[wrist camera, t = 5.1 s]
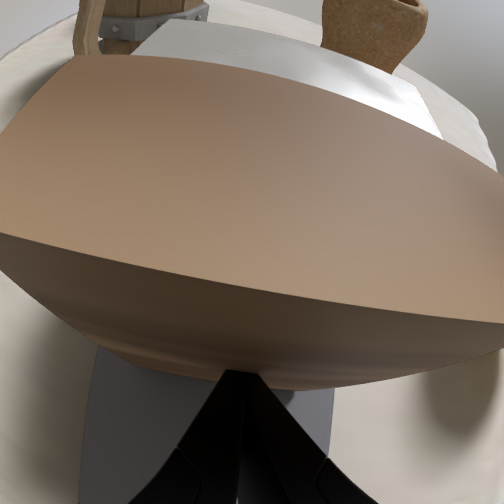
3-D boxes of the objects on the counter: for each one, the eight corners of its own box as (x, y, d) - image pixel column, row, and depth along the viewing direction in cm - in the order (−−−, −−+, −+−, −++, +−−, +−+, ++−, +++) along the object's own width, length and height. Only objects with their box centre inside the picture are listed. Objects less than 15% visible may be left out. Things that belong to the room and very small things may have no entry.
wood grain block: (301, 391, 13) (552, 327, 3) (133, 365, 12) (-51, 217, 2) (309, 182, 20) (395, 20, 9) (190, 156, 19) (214, -32, 8)
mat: (298, 571, 9) (304, 578, 8) (85, 547, 8) (80, 554, 7) (328, 203, 21) (334, 194, 20) (161, 167, 19) (160, 157, 19)
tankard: (137, 30, 30) (144, -64, 17) (221, 45, 30) (244, -62, 17) (25, 110, 20) (-3, -23, 7) (119, 136, 20) (111, -55, 7)
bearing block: (312, 329, 15) (472, 214, 6) (139, 298, 14) (75, 116, 5) (314, 232, 18) (414, 86, 9) (167, 202, 17) (170, 18, 8)
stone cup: (279, 86, 27) (324, -42, 14) (300, 52, 33) (335, -40, 20) (409, 146, 28) (482, 43, 15) (402, 99, 34) (451, 18, 20)
